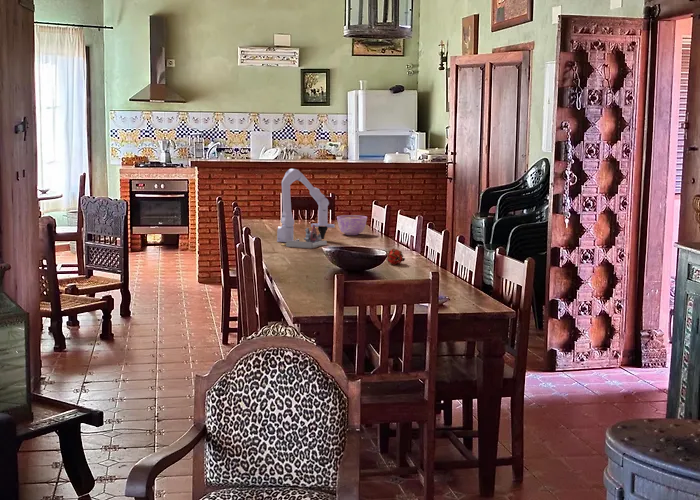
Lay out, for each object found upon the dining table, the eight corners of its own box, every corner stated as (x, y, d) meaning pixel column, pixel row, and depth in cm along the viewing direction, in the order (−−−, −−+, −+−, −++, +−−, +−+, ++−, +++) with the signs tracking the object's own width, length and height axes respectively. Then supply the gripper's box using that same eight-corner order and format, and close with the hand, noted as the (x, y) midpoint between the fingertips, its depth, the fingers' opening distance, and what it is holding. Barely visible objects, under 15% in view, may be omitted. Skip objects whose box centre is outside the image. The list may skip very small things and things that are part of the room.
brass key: (283, 246, 497) (283, 244, 497) (280, 245, 499) (280, 243, 499) (291, 245, 502) (291, 243, 502) (288, 244, 504) (288, 242, 504)
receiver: (283, 246, 495) (283, 240, 494) (297, 242, 512) (297, 236, 511) (314, 248, 487) (314, 242, 487) (327, 244, 505) (327, 238, 504)
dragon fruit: (393, 264, 445) (398, 272, 434) (381, 255, 443) (386, 262, 431) (403, 252, 444) (409, 259, 433) (391, 243, 441) (396, 249, 430)
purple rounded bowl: (331, 235, 548) (331, 217, 546) (343, 231, 566) (343, 214, 565) (360, 237, 541) (360, 219, 539) (371, 233, 559) (371, 216, 557)
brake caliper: (321, 240, 504) (310, 224, 504) (307, 251, 507) (296, 234, 507) (327, 238, 515) (315, 222, 515) (313, 248, 518) (301, 232, 518)
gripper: (309, 217, 518) (309, 239, 520) (333, 218, 515) (332, 240, 517) (312, 215, 525) (312, 237, 527) (335, 216, 522) (335, 238, 524)
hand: (322, 238), depth 522 cm, fingers closed
